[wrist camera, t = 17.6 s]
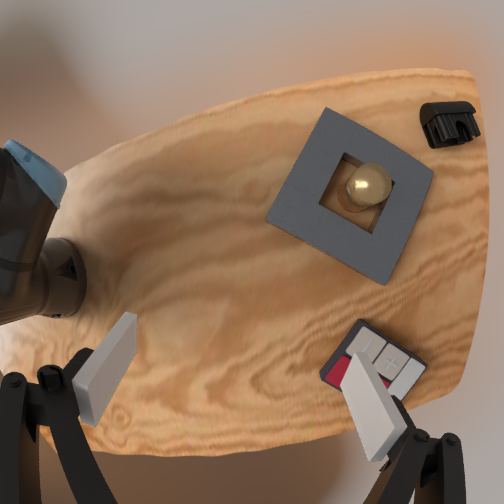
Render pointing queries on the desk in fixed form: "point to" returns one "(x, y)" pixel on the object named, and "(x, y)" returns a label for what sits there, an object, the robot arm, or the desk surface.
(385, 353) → the calculator
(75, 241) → the desk surface
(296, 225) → the frame
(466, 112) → the end cap
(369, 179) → the metal cylinder
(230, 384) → the desk surface
